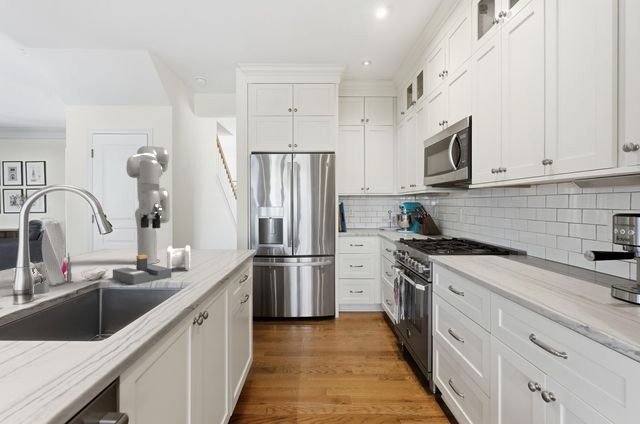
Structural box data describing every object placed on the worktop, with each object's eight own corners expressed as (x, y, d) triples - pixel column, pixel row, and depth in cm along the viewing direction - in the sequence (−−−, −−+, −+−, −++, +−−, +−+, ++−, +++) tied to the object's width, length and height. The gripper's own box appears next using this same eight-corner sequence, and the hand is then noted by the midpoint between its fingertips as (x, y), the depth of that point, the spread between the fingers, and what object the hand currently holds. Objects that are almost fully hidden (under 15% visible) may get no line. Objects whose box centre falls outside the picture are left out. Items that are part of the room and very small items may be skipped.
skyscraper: (51, 287, 127) (50, 217, 126) (37, 285, 129) (35, 217, 129) (73, 282, 135) (71, 216, 135) (58, 281, 137) (57, 216, 137)
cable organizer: (168, 267, 166) (168, 245, 165) (190, 266, 170) (190, 244, 169) (167, 273, 152) (166, 249, 152) (190, 271, 156) (190, 247, 156)
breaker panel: (112, 278, 142) (112, 269, 141) (149, 272, 155) (149, 263, 154) (133, 284, 130) (133, 274, 130) (171, 277, 143) (171, 268, 143)
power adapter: (32, 292, 119) (31, 260, 119) (49, 291, 121) (48, 259, 121) (27, 294, 116) (26, 262, 116) (45, 293, 118) (44, 261, 118)
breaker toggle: (136, 273, 142) (136, 255, 142) (144, 271, 144) (143, 254, 144) (140, 273, 140) (139, 256, 140) (147, 272, 143) (147, 255, 142)
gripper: (131, 189, 140) (132, 227, 140) (151, 187, 130) (151, 229, 130) (148, 189, 146) (149, 226, 146) (168, 188, 136) (169, 228, 136)
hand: (150, 227), depth 138 cm, fingers open, 9 cm apart
